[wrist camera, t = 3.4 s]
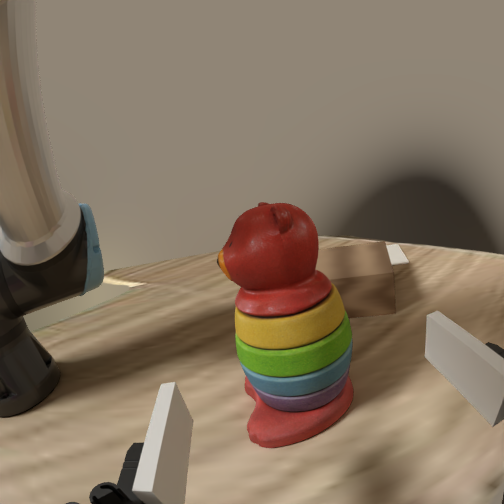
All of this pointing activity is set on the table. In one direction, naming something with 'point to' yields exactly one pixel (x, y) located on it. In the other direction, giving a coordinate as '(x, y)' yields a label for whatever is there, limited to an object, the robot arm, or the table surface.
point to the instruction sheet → (396, 255)
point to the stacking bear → (287, 326)
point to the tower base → (361, 277)
